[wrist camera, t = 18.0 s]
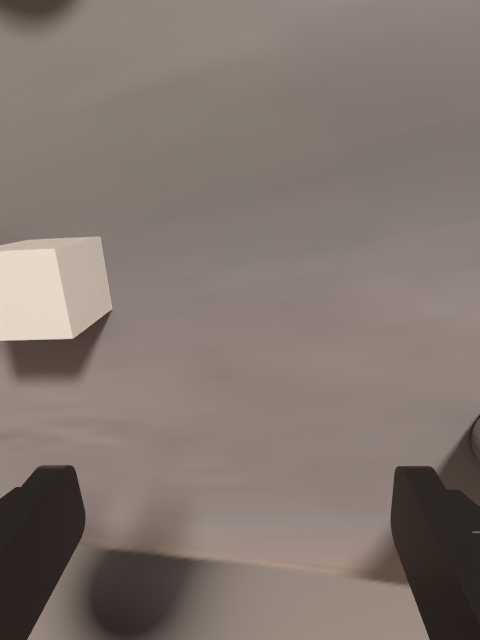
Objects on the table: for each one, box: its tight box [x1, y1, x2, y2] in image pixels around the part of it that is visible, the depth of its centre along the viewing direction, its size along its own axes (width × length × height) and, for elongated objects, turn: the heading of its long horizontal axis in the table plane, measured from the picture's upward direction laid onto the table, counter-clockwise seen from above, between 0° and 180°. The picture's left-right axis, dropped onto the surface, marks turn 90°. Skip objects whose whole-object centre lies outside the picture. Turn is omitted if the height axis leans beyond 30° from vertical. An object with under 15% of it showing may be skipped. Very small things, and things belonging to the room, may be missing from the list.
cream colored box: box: [0, 237, 112, 341], centre depth 32 cm, size 7×7×8 cm
